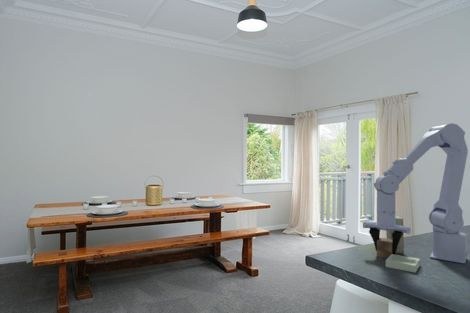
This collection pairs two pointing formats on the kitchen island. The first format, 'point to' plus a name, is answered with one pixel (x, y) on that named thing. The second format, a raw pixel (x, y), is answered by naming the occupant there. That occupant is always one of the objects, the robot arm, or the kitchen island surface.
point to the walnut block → (384, 247)
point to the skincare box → (401, 243)
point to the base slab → (403, 263)
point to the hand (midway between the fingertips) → (385, 251)
